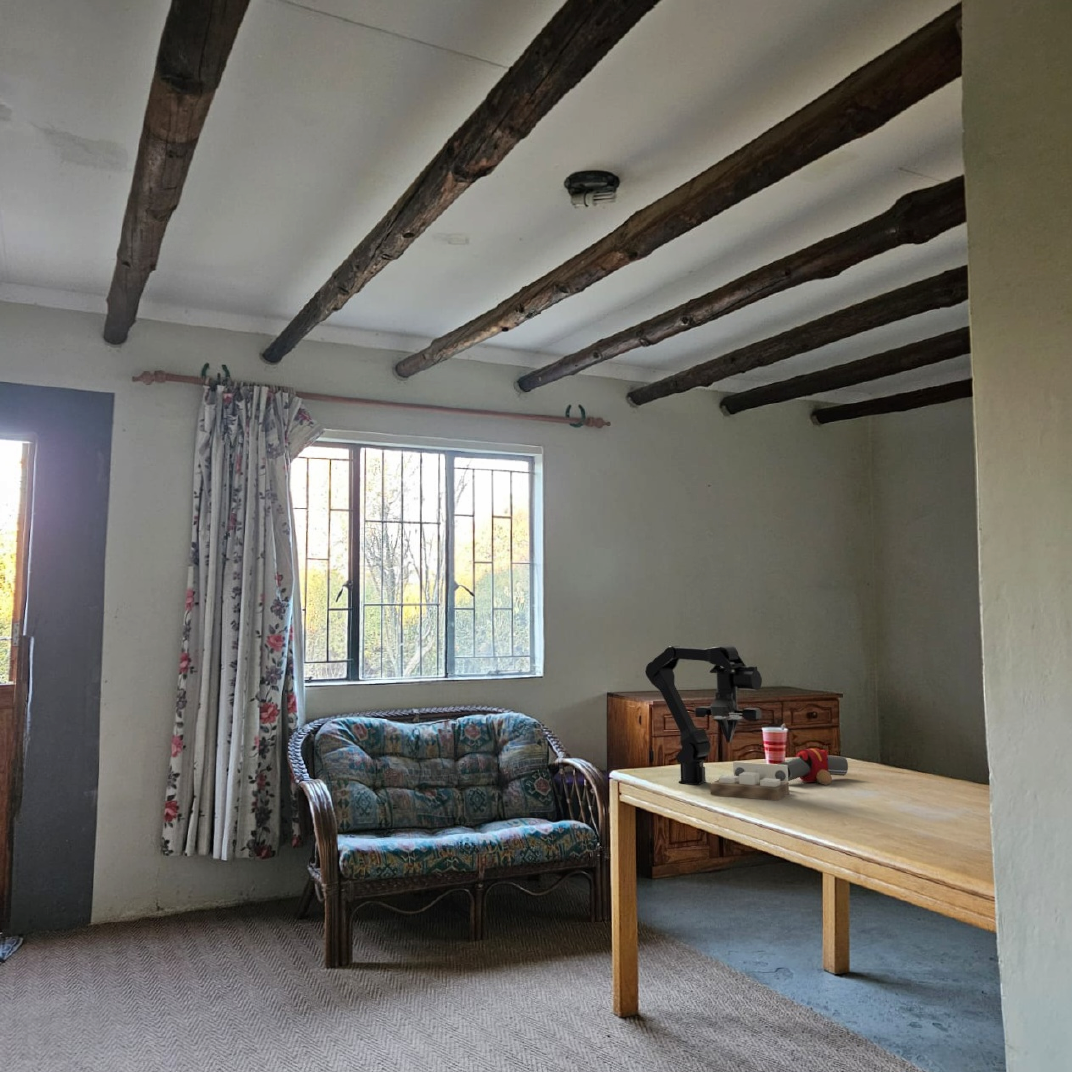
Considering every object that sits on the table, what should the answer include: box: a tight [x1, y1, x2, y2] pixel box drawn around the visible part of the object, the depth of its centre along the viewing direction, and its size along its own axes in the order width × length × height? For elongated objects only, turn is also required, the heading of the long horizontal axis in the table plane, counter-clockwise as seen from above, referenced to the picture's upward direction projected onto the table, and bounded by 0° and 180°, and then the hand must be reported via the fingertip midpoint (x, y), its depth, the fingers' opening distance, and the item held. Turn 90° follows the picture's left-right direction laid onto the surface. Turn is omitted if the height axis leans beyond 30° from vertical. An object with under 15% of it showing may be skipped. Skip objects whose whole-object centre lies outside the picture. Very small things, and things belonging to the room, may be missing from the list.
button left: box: [718, 774, 739, 784], centre depth 261 cm, size 4×4×4 cm
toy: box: [778, 747, 849, 786], centre depth 276 cm, size 23×10×15 cm
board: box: [709, 779, 790, 801], centre depth 258 cm, size 19×11×3 cm, turn 58°
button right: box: [760, 778, 781, 787], centre depth 255 cm, size 4×4×4 cm
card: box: [732, 761, 789, 783], centre depth 267 cm, size 16×1×7 cm, turn 59°
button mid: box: [739, 772, 760, 785], centre depth 258 cm, size 4×4×4 cm
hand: (728, 742), depth 269 cm, fingers closed
